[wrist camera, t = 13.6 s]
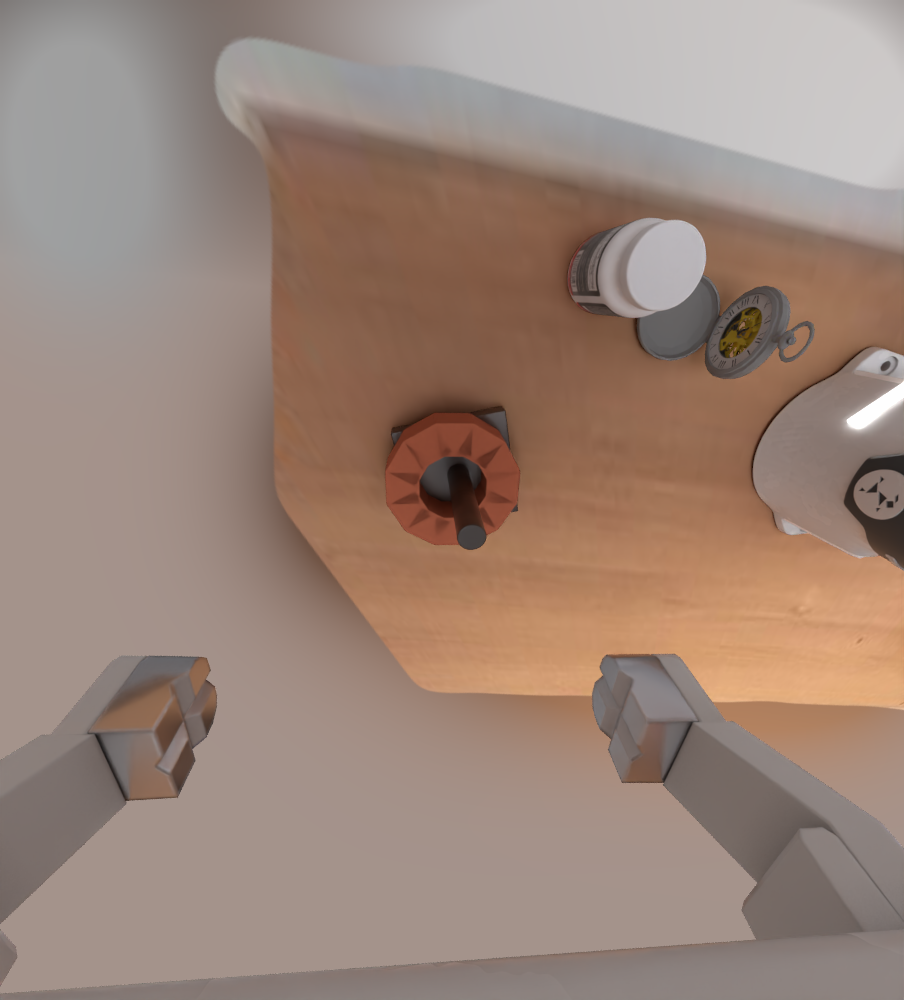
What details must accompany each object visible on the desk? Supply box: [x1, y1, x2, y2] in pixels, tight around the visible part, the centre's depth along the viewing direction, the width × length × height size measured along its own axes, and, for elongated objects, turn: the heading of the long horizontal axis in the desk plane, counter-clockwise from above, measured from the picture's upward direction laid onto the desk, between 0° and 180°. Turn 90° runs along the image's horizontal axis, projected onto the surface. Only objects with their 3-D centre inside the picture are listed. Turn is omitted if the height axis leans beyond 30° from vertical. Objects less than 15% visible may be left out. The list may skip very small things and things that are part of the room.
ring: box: [385, 413, 520, 545], centre depth 37 cm, size 11×11×3 cm
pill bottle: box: [568, 218, 706, 318], centre depth 29 cm, size 6×6×10 cm
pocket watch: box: [637, 275, 815, 379], centre depth 31 cm, size 8×8×10 cm
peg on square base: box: [391, 406, 518, 550], centre depth 34 cm, size 10×10×12 cm
